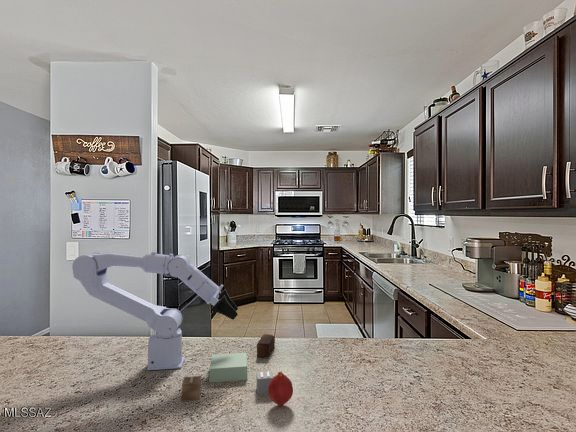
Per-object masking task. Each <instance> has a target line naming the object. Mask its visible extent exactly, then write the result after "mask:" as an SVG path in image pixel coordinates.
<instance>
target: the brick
mask: <svg viewBox="0 0 576 432" xmlns="http://www.w3.org/2000/svg"><path fill="white" fill-rule="evenodd" d="M275 339H276V337H275V336H274V335H273V334H267V333H266V334H265V333H264V334H263V335H262V336H261V337H260V338H259V339H258V342H257V344H256V357H257V358H259V359H260V358H261V359H268V358H269V357H270V356H271V355H272V353H273V350H274V348H275V346H276V345H275V344H276V340H275Z"/></svg>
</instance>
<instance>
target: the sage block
mask: <svg viewBox="0 0 576 432" xmlns="http://www.w3.org/2000/svg"><path fill="white" fill-rule="evenodd" d="M208 370H209V384H210V383H222V382H223V383H224V382H236V381H247V380H248V359H247V352H240V353H239V352H238V353H237V352H236V353H234V352H233V353H222V354H219V353H217V354H211V359H210V364H209V369H208Z"/></svg>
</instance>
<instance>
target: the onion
mask: <svg viewBox="0 0 576 432" xmlns="http://www.w3.org/2000/svg"><path fill="white" fill-rule="evenodd" d="M268 393H269V394H268V397H269V399H270V400H271V401H272V402H273V403H275V404H276V405H277V406H278V407H283V406H284V405H285V404H287V403H288V402H289V401H290V400H291V399H292V396H293V395H294V394H293V393H294V387H293V383H292V381H291V379H290V378H289V377H288V376H287V375H285V374H284V373H283V372H282V371H280V370H279V371H278V372H277V374H276V375H275V376H274V375H273V378H272V380H271V381H270V383H269V386H268Z"/></svg>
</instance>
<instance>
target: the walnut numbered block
mask: <svg viewBox="0 0 576 432" xmlns="http://www.w3.org/2000/svg"><path fill="white" fill-rule="evenodd" d="M201 393H202V377H201V375H199V376H198V375H197V376H195V375H194V376H184V378H183V380H182V383H181V401H182V402H185V401H188V402H189V401H197V400H200V398H201Z"/></svg>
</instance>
